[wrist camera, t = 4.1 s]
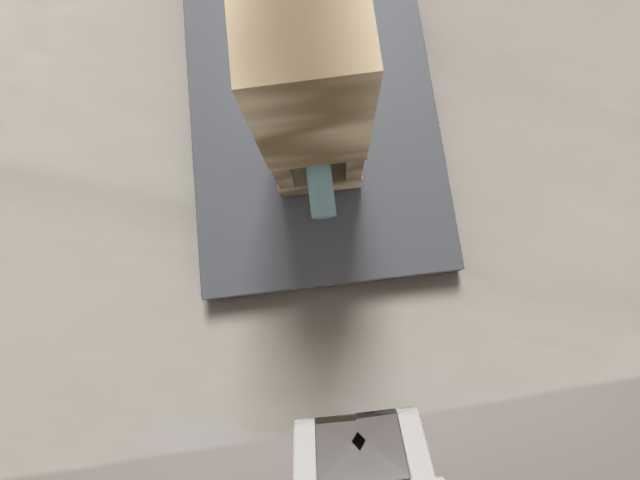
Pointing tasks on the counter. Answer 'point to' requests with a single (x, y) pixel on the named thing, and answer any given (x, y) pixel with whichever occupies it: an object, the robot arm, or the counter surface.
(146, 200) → the counter surface
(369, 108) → the notched wooden block
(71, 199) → the counter surface
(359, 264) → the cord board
